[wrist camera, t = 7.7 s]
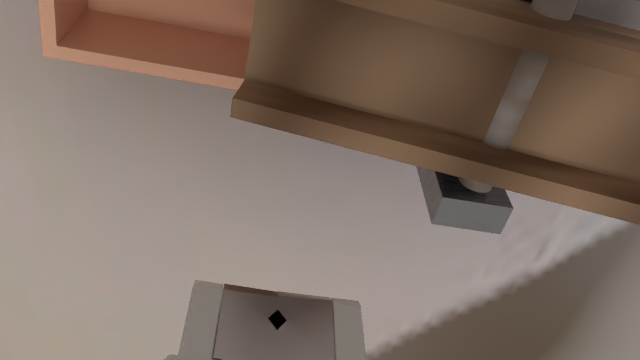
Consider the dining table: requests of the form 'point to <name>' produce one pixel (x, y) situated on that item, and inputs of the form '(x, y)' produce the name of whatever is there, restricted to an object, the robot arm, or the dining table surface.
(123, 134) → the dining table surface
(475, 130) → the brown wooden tray
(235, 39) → the pink open box
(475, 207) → the stand
